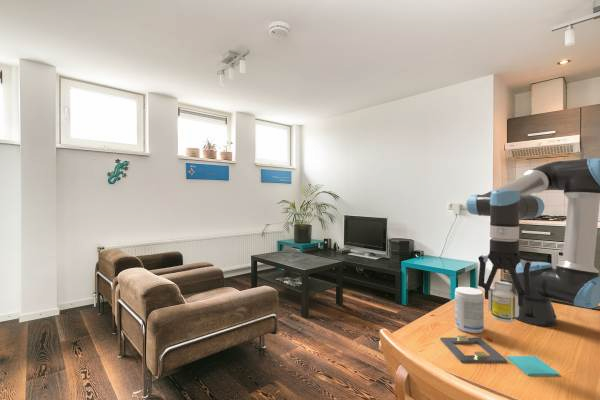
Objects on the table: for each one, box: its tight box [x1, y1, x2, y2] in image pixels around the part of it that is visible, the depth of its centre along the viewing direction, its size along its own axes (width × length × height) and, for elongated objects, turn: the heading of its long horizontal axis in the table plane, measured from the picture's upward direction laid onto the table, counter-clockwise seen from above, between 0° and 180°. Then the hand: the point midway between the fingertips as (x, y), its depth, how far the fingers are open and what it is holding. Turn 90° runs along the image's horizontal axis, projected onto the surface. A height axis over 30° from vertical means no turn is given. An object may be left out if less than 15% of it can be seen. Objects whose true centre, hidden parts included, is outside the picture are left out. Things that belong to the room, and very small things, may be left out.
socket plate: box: [439, 335, 508, 363], centre depth 99 cm, size 14×14×2 cm
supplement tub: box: [454, 286, 485, 334], centre depth 115 cm, size 10×10×15 cm
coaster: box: [505, 355, 561, 377], centre depth 90 cm, size 9×9×1 cm
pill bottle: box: [491, 281, 516, 323], centre depth 94 cm, size 6×6×11 cm
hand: (503, 312), depth 94 cm, fingers closed on pill bottle, 6 cm apart
